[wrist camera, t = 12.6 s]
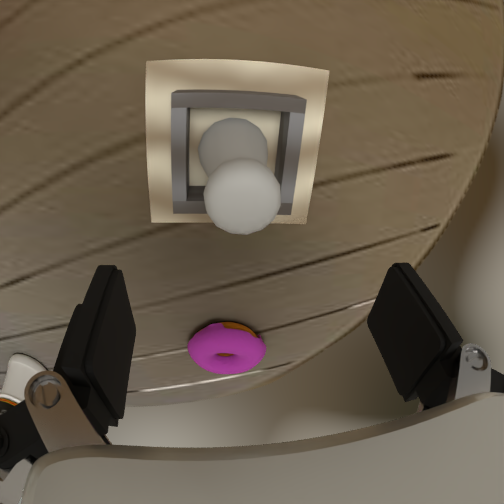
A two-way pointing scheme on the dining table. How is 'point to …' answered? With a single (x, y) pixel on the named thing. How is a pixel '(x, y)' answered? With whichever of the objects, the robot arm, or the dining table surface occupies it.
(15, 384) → the vodka
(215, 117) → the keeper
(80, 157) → the dining table surface
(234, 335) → the donut
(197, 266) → the dining table surface
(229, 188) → the salt shaker
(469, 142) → the dining table surface
